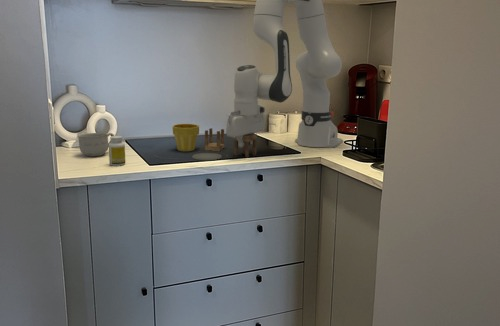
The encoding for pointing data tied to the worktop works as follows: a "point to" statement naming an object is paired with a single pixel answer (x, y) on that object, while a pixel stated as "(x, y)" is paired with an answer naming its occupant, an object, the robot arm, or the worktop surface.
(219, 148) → the upturned stool
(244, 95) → the robot arm
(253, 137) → the stool
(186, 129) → the plant pot
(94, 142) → the teacup
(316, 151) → the worktop surface
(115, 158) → the supplement bottle
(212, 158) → the mat
